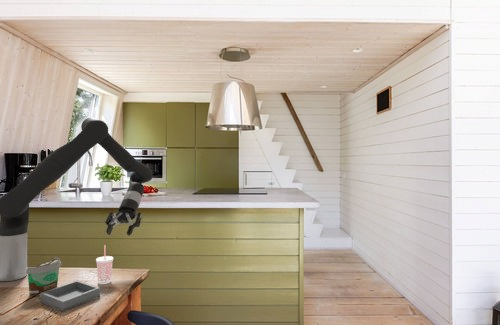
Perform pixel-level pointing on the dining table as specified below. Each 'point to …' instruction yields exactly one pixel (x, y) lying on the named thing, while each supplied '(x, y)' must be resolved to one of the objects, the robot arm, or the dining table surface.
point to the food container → (43, 276)
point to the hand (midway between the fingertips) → (118, 234)
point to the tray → (69, 295)
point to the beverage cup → (104, 268)
